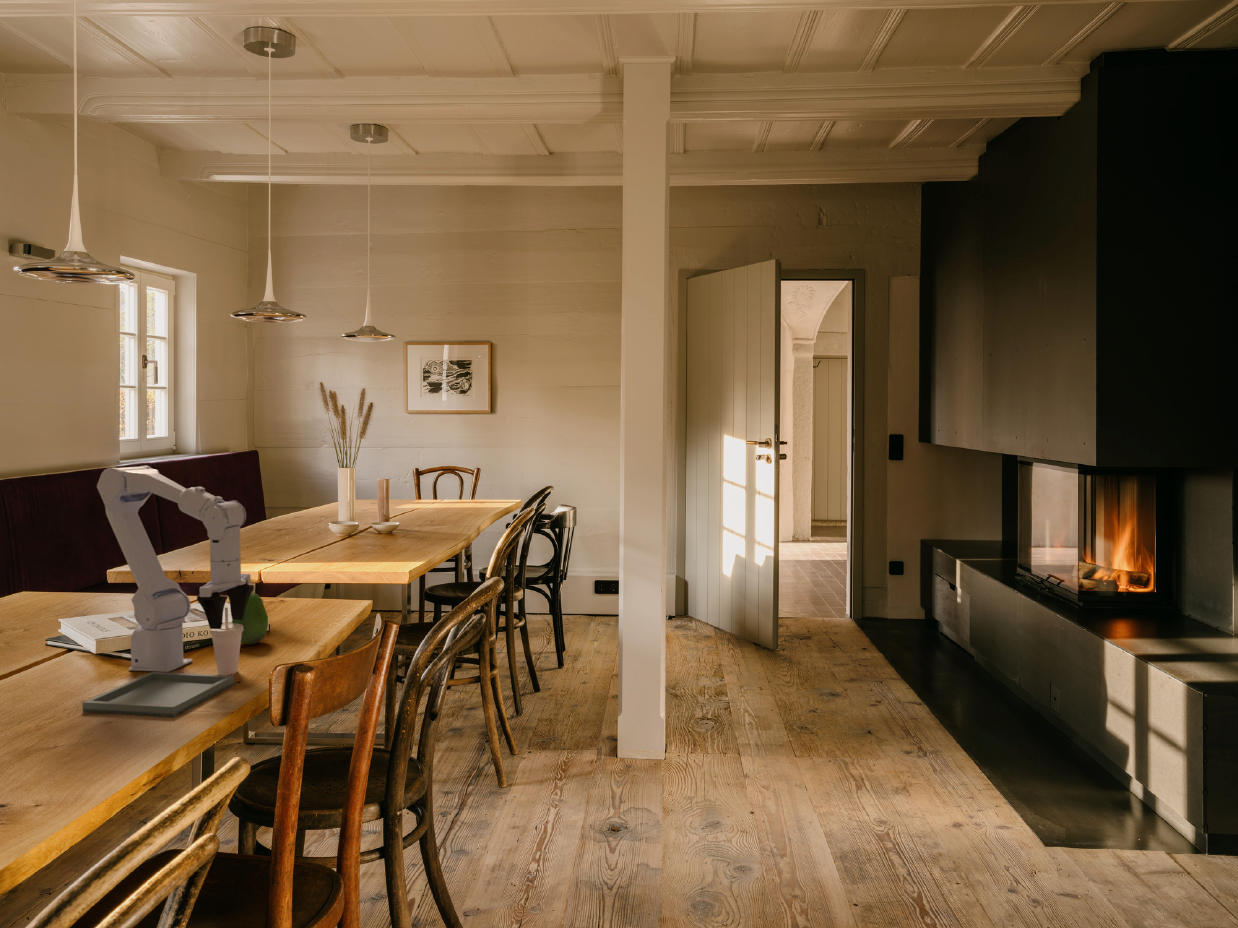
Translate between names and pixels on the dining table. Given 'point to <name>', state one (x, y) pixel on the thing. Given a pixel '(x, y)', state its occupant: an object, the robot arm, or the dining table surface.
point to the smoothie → (227, 646)
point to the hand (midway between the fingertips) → (226, 623)
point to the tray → (159, 694)
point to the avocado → (253, 621)
